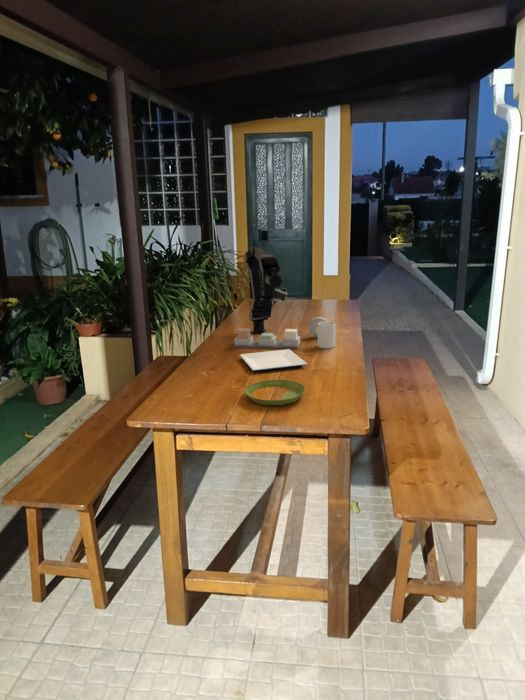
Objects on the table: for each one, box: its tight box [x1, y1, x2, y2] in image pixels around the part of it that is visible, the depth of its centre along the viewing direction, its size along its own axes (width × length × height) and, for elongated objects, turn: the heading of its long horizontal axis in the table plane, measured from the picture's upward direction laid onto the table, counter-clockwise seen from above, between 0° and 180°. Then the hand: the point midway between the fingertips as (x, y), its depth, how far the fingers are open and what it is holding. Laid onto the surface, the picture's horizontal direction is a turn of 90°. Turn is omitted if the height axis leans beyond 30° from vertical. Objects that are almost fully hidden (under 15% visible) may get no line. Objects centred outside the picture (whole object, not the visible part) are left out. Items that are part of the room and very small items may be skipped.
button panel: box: [233, 334, 301, 350], centre depth 251 cm, size 10×29×4 cm, turn 79°
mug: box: [317, 320, 336, 349], centre depth 247 cm, size 12×8×10 cm, turn 164°
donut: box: [308, 316, 328, 338], centre depth 260 cm, size 10×4×10 cm, turn 83°
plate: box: [239, 349, 308, 372], centre depth 225 cm, size 22×22×2 cm
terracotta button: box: [236, 327, 251, 339], centre depth 252 cm, size 5×5×4 cm
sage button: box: [260, 332, 275, 339], centre depth 250 cm, size 5×5×4 cm
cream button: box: [284, 328, 298, 340], centre depth 247 cm, size 5×5×4 cm
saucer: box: [244, 379, 306, 406], centre depth 188 cm, size 21×21×3 cm
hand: (269, 317), depth 255 cm, fingers closed
